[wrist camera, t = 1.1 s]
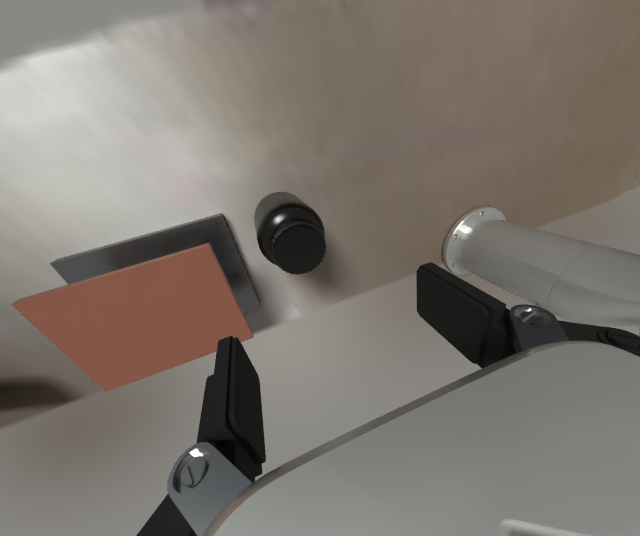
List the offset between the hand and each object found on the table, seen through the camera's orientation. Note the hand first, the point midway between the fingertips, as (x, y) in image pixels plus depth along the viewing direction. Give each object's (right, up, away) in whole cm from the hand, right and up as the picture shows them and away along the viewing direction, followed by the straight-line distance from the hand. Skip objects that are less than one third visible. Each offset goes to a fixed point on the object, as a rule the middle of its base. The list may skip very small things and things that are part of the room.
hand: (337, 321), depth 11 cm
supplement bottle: (-6, +9, +19) cm, 22 cm away
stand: (-20, 0, +19) cm, 27 cm away
